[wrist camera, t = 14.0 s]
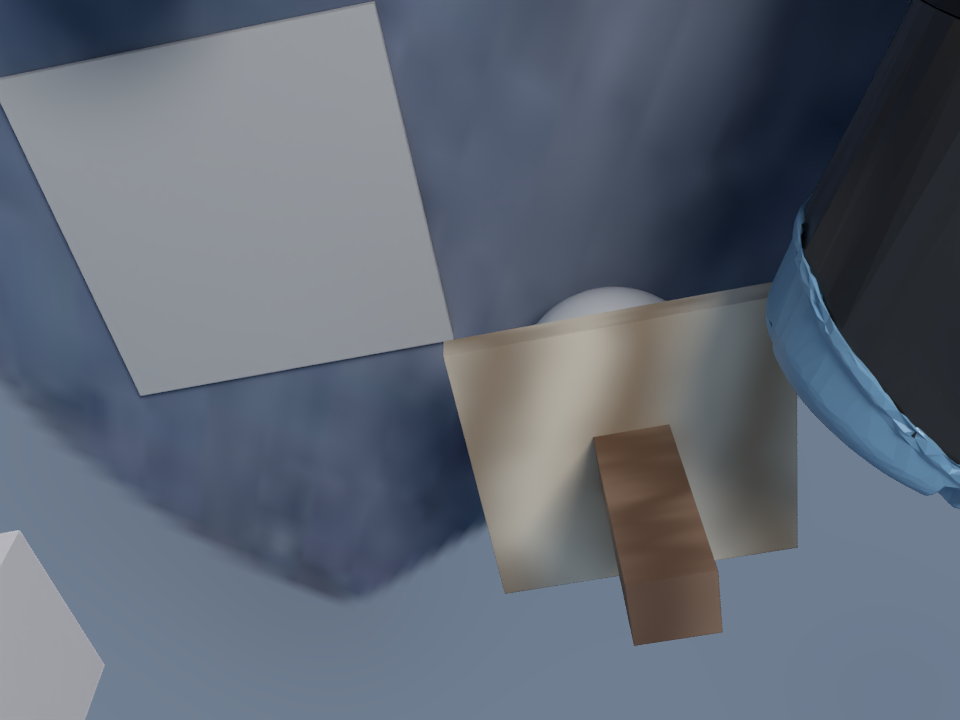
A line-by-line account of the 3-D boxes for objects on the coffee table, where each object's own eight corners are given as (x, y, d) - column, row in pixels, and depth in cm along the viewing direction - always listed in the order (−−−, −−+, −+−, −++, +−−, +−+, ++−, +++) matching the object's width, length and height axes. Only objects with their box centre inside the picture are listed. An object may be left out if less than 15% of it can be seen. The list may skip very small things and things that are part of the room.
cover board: (787, 279, 39) (881, 424, 31) (790, 530, 47) (865, 700, 39) (443, 341, 41) (442, 497, 32) (503, 576, 49) (516, 751, 40)
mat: (374, 1, 41) (374, 3, 41) (453, 334, 51) (453, 339, 51) (-6, 78, 43) (-10, 81, 42) (142, 390, 52) (140, 395, 52)
